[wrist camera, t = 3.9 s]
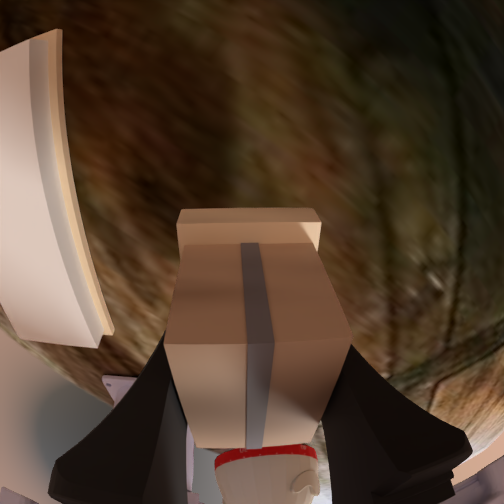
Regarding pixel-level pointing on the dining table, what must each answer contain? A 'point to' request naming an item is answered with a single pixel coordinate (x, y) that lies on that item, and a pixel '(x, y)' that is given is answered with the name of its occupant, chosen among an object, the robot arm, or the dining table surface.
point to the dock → (43, 206)
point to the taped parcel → (253, 327)
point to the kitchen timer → (268, 475)
